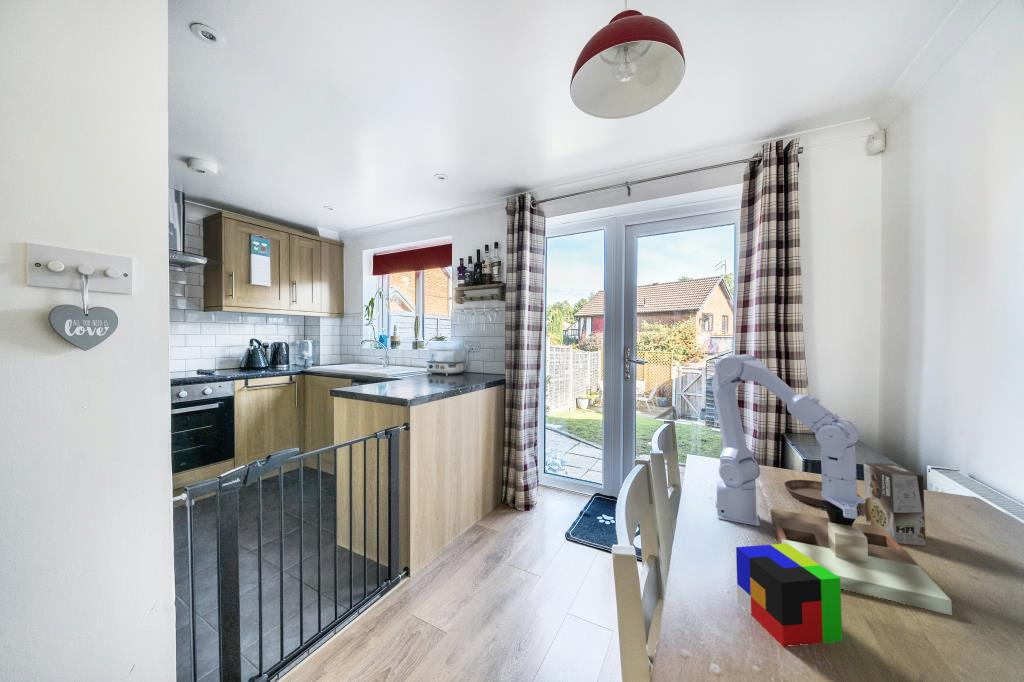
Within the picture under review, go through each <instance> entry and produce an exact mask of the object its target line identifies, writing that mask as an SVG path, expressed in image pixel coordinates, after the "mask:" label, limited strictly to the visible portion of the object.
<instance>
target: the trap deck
mask: <svg viewBox="0 0 1024 682" xmlns="http://www.w3.org/2000/svg"><path fill="white" fill-rule="evenodd" d="M769 510H770V520H771V523H772V526H773V529H774V531H775V534H776V538H777V540H778V544H788V545H790V546H791V547H793V548H795V549H796V550H798V551H799V552H801V553H802V554H804V555H805V556H807V557H809V558H810V559H812V560H813V561H815V562H816V563H818V564H819V565H821V566H822V567H824V568H826V569H827V570H829V571H830V572H832V573H833V574H835V575H836V576H838V577H840V586H841V589H844V590H843V591H846V590H848V591H847V592H850V591H852V592H851V593H854V592H856V593H855V594H859V593H860V594H859V595H863V594H864V596H867V595H868V597H871V596H874V597H873V598H876V597H879V598H878V599H880V598H885V599H888V600H889V599H890V600H893V601H897V602H901V603H905V604H909V605H908V606H910V605H912V606H911V607H914V606H916V607H915V608H918V607H920V608H919V609H923V608H925V609H924V610H927V609H928V610H927V611H931V610H932V611H931V612H934V613H935V612H936V613H940V614H945V615H948V616H949V615H950V616H953V610H952V599H950V597H949V596H948V595H947V594H946V593H945V592H944V591H943V590H942V589H941V588H940V587H939V586H938V584H937V583H935V581H933V579H931V577H930V576H928V574H927V573H926V572H925V571H924V570H923V568H922V567H921V566H919V565H918V564H917V563H916V562H915V561H914V559H913V558H912V557H911V556H910V555H909V554H908V553H907V552H906V550H904V548H903V547H901V545H900V543H897V542H896V541H895V540H894V539H893V538H892V537H891V536H890V535H889V534H888V533H887V532H886V530H885V529H884V528H883V527H879V526H873V525H866V524H865V523H860V522H859V523H858V522H854V523H853V525H852V526H854V527H858V528H859V529H860V530H861V531H862V532H863V534H864V535H865V536H866V537H867V546H868V563H864V562H859V561H854V560H849V559H844V558H839V557H835V555H834V553H833V552H832V550H831V548H830V546H829V542H828V522H830V520H829V517H824V516H823V517H822V516H816V515H811V514H807V513H806V514H804V513H799V512H792V511H786V510H780V509H776V508H775V509H774V508H770V509H769ZM888 600H887V601H888ZM893 601H892V602H893ZM897 602H896V603H897ZM901 603H900V604H901ZM905 604H904V605H905Z"/></svg>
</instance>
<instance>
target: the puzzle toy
mask: <svg viewBox="0 0 1024 682" xmlns="http://www.w3.org/2000/svg"><path fill="white" fill-rule="evenodd" d="M735 551H736V552H735V553H736V554H735V555H736V583H737V585H736V587H737V589H736V590H737V593H736V594H737V602H738V604H740V605H741V607H742V608H743V609H745V608H746V609H747V610H748V611H747V610H746V609H745V610H746V611H747V613H749V614H750V613H751V614H750V616H751V617H753V618H754V620H755V621H756V622H757V623H758V624H759V625H760V626H761V627H762V628H763V629H764V630H765V631H766V632H768V633H769V635H771V636H772V638H774V640H775V641H777V642H778V644H780V646H781V647H783V648H785V647H784V646H788V645H800V644H810V645H816V644H815V643H821V644H826V643H825V642H831V643H834V642H833V641H841V642H843V627H842V626H843V623H842V622H843V620H842V618H843V617H842V594H841V593H842V590H841V586H840V577H838V576H836V575H835V574H833V573H832V572H830V571H829V570H827V569H826V568H824V567H822V566H821V565H819V564H818V563H816V562H815V561H813V560H812V559H810V558H809V557H807V556H805V555H804V554H802V553H801V552H799V551H798V550H796V549H795V548H793V547H791V546H790V545H788V544H780V543H776V544H762V545H749V546H748V545H746V546H736V547H735ZM800 646H801V645H800Z"/></svg>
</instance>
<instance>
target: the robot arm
mask: <svg viewBox="0 0 1024 682" xmlns="http://www.w3.org/2000/svg"><path fill="white" fill-rule="evenodd" d="M713 367H714V373H713V377H712V380H711V389H712V394H713V400H714V404H715V410H716V414H717V418H718V419H717V420H718V425H719V429H720V434H721V439H722V440H721V441H722V444H723V449H722V451H721V453H720V455H719V463H720V464H719V467H718V475H719V477H720V479H721V480H717V481H716V500H715V509H716V510H717V511H716V513H717V519H719V520H724V521H730V522H734V523H738V524H739V523H741V524H745V525H751V526H755V527H756V526H757V527H760V526H761V524H760V520H759V516H758V515H759V514H758V512H757V485H756V482H757V481H756V480H757V479H758V478H760V475H761V468H760V465H759V463H758V462H757V461H756V459H755V456H754V453H753V452H752V450H750V449H749V447H748V446H747V442H746V437H745V432H744V428H743V422H742V419H741V412H740V408H739V403H738V397H737V394H736V389H738V387H739V386H740V385H741V384H742V383H743V381H749V382H756V383H758V384H760V386H762V387H763V388H765V389H767V390H768V391H769V392H770V393H772V394H773V395H774V396H776V397H777V398H778V399H779V400H781V401H782V402H783V403H785V404H786V408H787V412H788V413H789V414H791V415H792V416H793V417H794V418H795V419H796V420H798V421H799V422H800V423H801V424H803V425H804V426H805V427H806V428H807V429H808V430H810V431H811V432H812V433H814V437H815V439H816V441H817V443H818V444H819V445H820V447H821V448H820V451H821V452H820V460H821V461H820V462H821V463H820V464H821V465H820V466H821V467H820V468H821V482H822V492H821V496H822V497H823V498H824V499H826V500H822V501H821V502H822V504H823V506H824V507H823V508H824V509H825V511H826V514H827V516H828V517H827V518H829V520H830V523H836V524H842V525H848V526H852V525H853V523H855V521H856V520H858V517H859V516H860V515H861V513H860V511H859V510H858V509H857V508H858V505H859V504H864V505H865V504H866V503H865V498H863V497H862V496H861V497H862V498H861V497H857V493H858V491H857V490H858V488H857V487H858V486H857V484H858V483H857V459H856V445H854V444H855V443H857V442H858V440H859V438H860V433H859V430H858V429H857V427H856V425H854V424H853V422H851V421H849V420H847V419H844V418H841V416H840V415H838V414H837V413H835V414H834V413H832V412H831V411H830V410H829V409H827V408H826V407H824V405H822V404H820V403H819V402H820V401H821V400H820V399H818V398H817V397H816V396H813V397H811V395H808V394H799V393H798V392H796V391H795V389H793V388H792V387H791V386H789V385H788V384H787V383H786V382H785V381H784V380H782V379H781V378H780V377H779V376H778V375H776V374H775V373H774V372H773V371H771V369H769V368H768V367H767V366H766V364H764V362H762V361H760V360H759V359H757V357H755V356H753V355H752V354H749V353H743V354H726V355H723V356H721V357H720V358H719V359H718V360H717V362H715V364H714V366H713Z"/></svg>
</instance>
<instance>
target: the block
mask: <svg viewBox="0 0 1024 682" xmlns="http://www.w3.org/2000/svg"><path fill="white" fill-rule="evenodd" d="M828 542H829V546H830V548H831V550H832V552H833V553H834V555H835V557H839V558H844V559H849V560H854V561H859V562H864V563H868V546H867V537H866V536H865V535H864V534H863V532H862V531H861V530H860V529H859V528H858V527H854V526H848V525H842V524H836V523H830V522H828Z"/></svg>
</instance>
